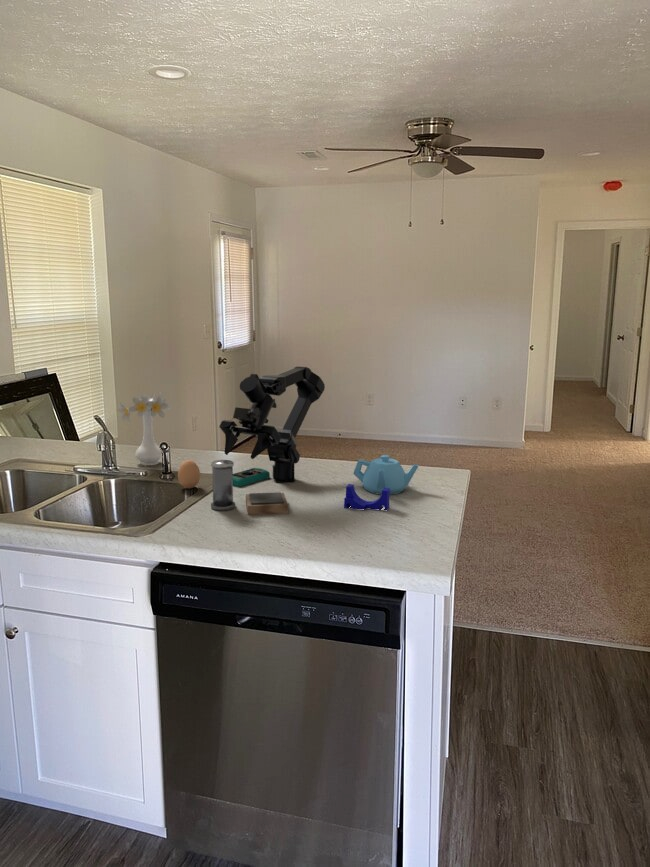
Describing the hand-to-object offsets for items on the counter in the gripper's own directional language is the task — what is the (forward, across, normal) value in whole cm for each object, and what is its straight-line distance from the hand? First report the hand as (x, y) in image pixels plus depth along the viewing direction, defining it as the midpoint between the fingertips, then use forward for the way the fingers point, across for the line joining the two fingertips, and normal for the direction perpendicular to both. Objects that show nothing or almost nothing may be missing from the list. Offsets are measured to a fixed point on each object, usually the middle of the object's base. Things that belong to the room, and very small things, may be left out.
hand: (238, 456), depth 193 cm
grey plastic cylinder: (+15, 0, +3) cm, 15 cm away
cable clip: (+1, +35, +18) cm, 40 cm away
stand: (+11, +11, +7) cm, 17 cm away
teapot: (-12, +32, +33) cm, 48 cm away
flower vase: (-1, -51, +21) cm, 55 cm away
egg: (+9, -20, +10) cm, 24 cm away
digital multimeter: (-2, -10, +23) cm, 25 cm away
